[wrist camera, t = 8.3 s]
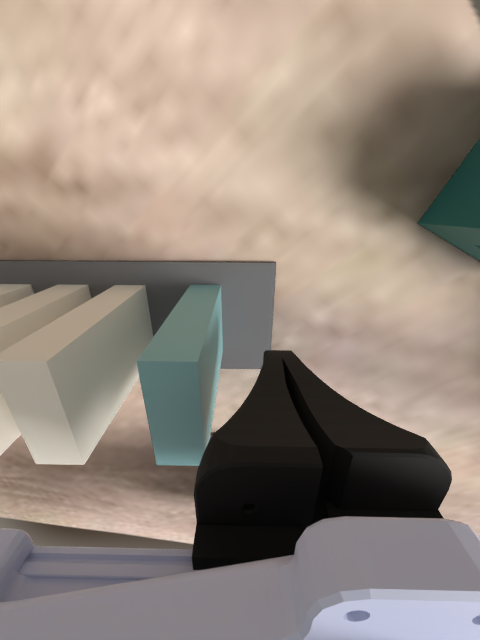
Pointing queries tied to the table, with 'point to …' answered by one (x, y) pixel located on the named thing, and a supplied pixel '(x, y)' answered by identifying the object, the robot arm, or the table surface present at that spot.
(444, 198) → the bracket
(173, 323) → the tile
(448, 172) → the table surface
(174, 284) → the mat
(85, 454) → the tile
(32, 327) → the tile
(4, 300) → the tile
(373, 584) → the robot arm
